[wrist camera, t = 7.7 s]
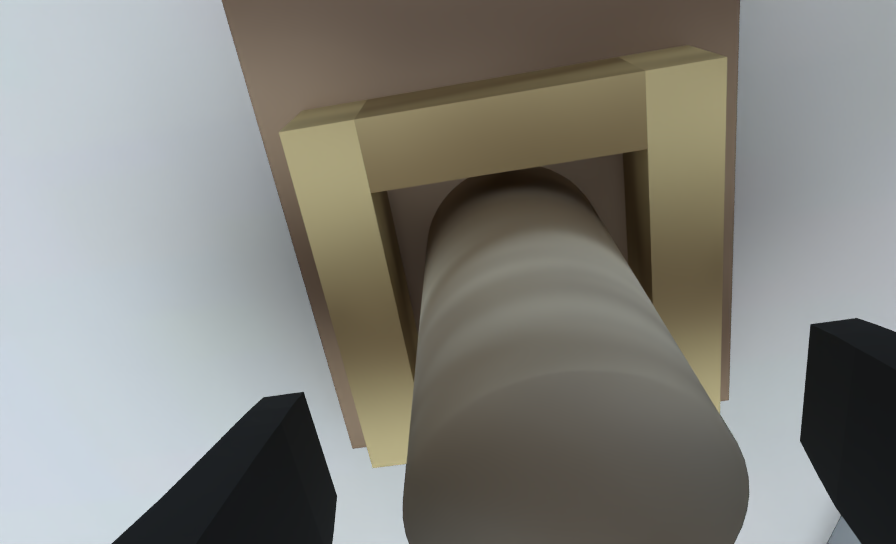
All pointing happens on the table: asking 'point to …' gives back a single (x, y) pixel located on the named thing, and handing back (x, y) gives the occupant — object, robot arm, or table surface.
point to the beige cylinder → (554, 386)
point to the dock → (491, 157)
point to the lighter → (843, 534)
